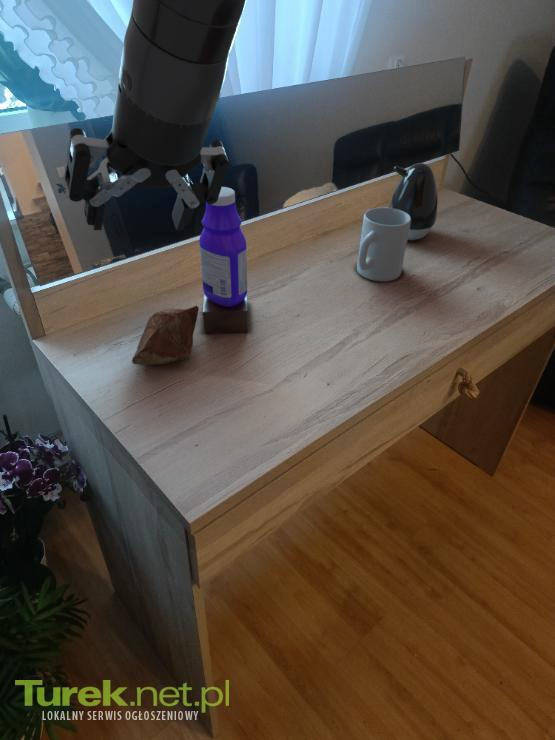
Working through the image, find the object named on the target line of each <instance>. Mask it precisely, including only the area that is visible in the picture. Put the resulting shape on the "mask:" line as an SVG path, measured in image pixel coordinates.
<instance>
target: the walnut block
mask: <svg viewBox="0 0 555 740" xmlns="http://www.w3.org/2000/svg"><path fill="white" fill-rule="evenodd" d="M248 311H249V310H248V294H247V295H246V297H245V299H244V300H243V301H242V302H241V303H239V304H237V305H236V306H232V307H225V306H221V305H219V304H216V303H214V302H212V301H210V300H209V299H208V298H207V297H206V296H205V294H204V293H203V303H202V321H203V330H204V334H207V333H208V334H211V333H213V334H214V333H215V334H216V333H248V332H249V316H248V314H249V313H248Z"/></svg>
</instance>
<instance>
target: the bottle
mask: <svg viewBox="0 0 555 740" xmlns="http://www.w3.org/2000/svg"><path fill="white" fill-rule="evenodd" d="M235 192H236V191H235V190H234V189H232V188H230V187H228V186H222V188H221V191H220V194H219V197H218V200H217V202H216V203H214V204H208V203H207V202H206V201H205V212H204V215H203V217H202V219H201V225H202V226H203V229H202V231H201V233H200V235H199V240H198V241H199V242H198V243H199V254H200V268H201V279H202V290H203V295H204V294H205V296H206V297H207V298H208V299H209V300H210V301H212V302H214V303H216V304H219V305H221V306H225V307H232V306H236V305H237V304H239V303H241V302H242V301H243V300H244V299H245V297H246V295H247V296H248V258H247V257H248V249H247V248H248V247H247V239H246V236H245V235H244V232H243V230H242V228H241V226H242V218H241V216H240V215H239V213H238V210H237V205H236V193H235Z"/></svg>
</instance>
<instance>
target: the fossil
mask: <svg viewBox="0 0 555 740" xmlns="http://www.w3.org/2000/svg"><path fill="white" fill-rule="evenodd" d="M199 309H200V308H199V306H197V305H195V306H191V307H189V308H174V307H173V308H164V309H161V310H157V311H155V312H154V313H153V314H152V315H151V316H150V317H149V319H148V320H147V323H146V325H145V327H144V329H143V333H142V334H141V337H140V339H139V342H138V344H137V347H136V351H135V353H134V355H133V357H132V360H131V363H132V364H133V365H142V366H144V365H145V366H151V365H152V366H153V365H154V366H155V365H157V366H158V365H168V364H173V363H176V362H179V361H182V360H185V359H186V358H187V357H189V356H190V355H191V352H192V349H193V345H194V333H195V330H196V324H197V320H198V316H199Z"/></svg>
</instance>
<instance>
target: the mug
mask: <svg viewBox="0 0 555 740" xmlns="http://www.w3.org/2000/svg"><path fill="white" fill-rule="evenodd" d="M410 224H411V217H410V216H409V215H408V214H407V213H406V212H404V211H401V210H398V209H394V208H389V207H375V208H371V209H368V210H366V211H365V212H364V214H363V219H362V228H361V235H360V243H359V250H358V257H357V264H356V270H357V273H358V274H359V275H360V276H361V277H363V278H365V279H367V280H370V281H374V282H390V281H395V280H397V279H398V278H399V277H400V276H401V274H402V272H403V271H402V270H403V265H404V260H405V259H404V258H405V255H406V249H407V244H408V240H407V239H408V234H409V229H410Z"/></svg>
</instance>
